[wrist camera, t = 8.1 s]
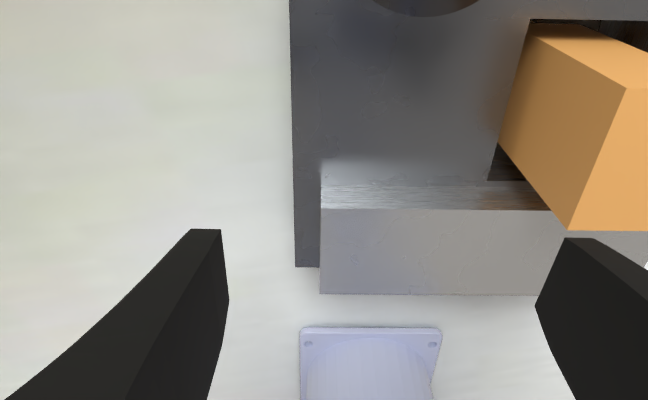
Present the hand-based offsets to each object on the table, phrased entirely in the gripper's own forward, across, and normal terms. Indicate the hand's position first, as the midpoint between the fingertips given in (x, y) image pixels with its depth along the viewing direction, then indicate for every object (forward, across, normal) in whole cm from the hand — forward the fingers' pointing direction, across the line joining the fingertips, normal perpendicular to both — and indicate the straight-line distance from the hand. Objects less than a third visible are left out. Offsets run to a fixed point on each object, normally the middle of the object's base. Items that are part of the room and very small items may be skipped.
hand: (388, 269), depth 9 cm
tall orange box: (+9, -7, -1) cm, 12 cm away
